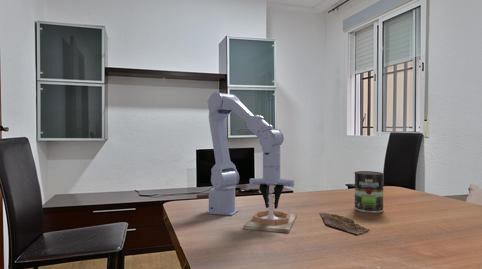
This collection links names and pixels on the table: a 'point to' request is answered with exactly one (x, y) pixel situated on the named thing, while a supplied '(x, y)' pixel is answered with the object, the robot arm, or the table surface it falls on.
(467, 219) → the table surface
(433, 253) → the table surface
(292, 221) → the birch board
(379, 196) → the coffee can
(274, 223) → the ring collar
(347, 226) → the wooden fragment
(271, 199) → the chess piece
